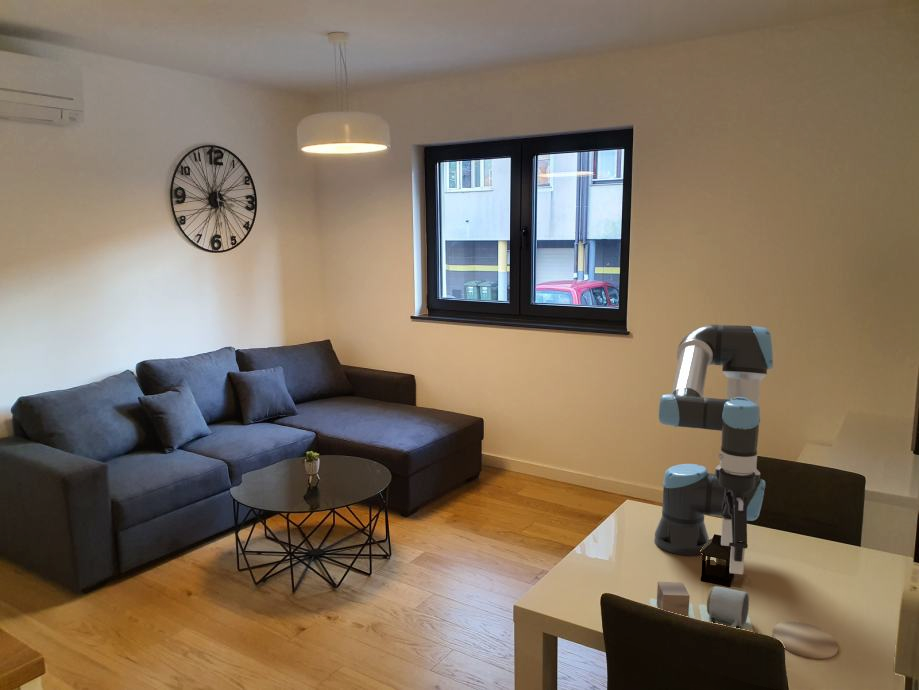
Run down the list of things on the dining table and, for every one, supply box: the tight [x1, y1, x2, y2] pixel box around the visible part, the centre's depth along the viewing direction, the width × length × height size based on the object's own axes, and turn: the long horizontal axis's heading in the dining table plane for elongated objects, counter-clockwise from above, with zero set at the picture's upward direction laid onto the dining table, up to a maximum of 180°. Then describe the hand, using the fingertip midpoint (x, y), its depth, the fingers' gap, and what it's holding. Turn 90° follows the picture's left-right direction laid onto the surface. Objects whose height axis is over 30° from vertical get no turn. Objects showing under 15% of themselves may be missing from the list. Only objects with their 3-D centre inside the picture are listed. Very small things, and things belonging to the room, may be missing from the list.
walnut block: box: [656, 581, 690, 616], centre depth 161 cm, size 6×6×6 cm
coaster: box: [772, 621, 839, 660], centre depth 150 cm, size 13×13×1 cm
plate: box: [649, 597, 696, 619], centre depth 162 cm, size 10×10×1 cm
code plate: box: [698, 603, 755, 633], centre depth 157 cm, size 14×11×1 cm
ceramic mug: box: [706, 585, 750, 627], centre depth 156 cm, size 11×8×8 cm
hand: (731, 558), depth 154 cm, fingers open, 13 cm apart
